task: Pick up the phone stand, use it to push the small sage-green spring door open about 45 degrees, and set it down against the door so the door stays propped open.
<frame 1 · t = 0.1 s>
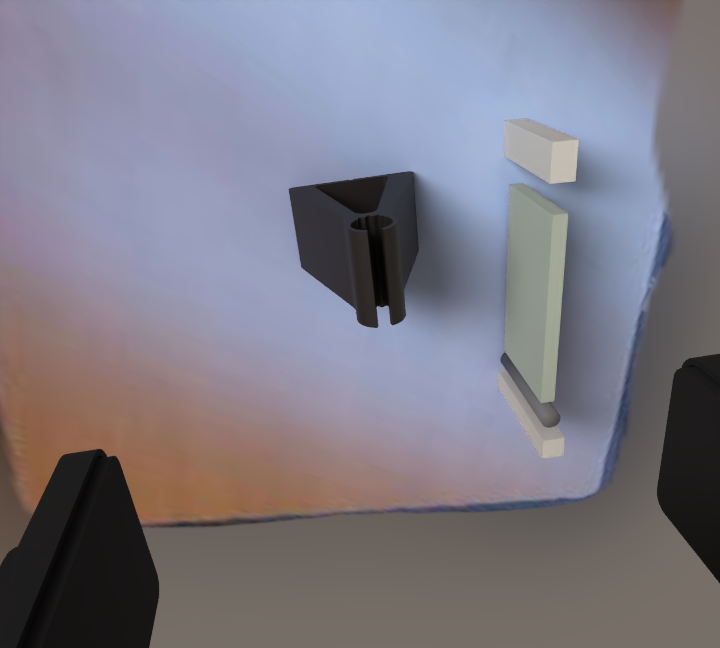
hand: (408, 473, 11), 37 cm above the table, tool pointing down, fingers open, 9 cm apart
door frame: (507, 357, 54), on the table
door: (532, 303, 46), point 5 cm above the table, hinge at 0.0°
phone stand: (355, 218, 47), on the table
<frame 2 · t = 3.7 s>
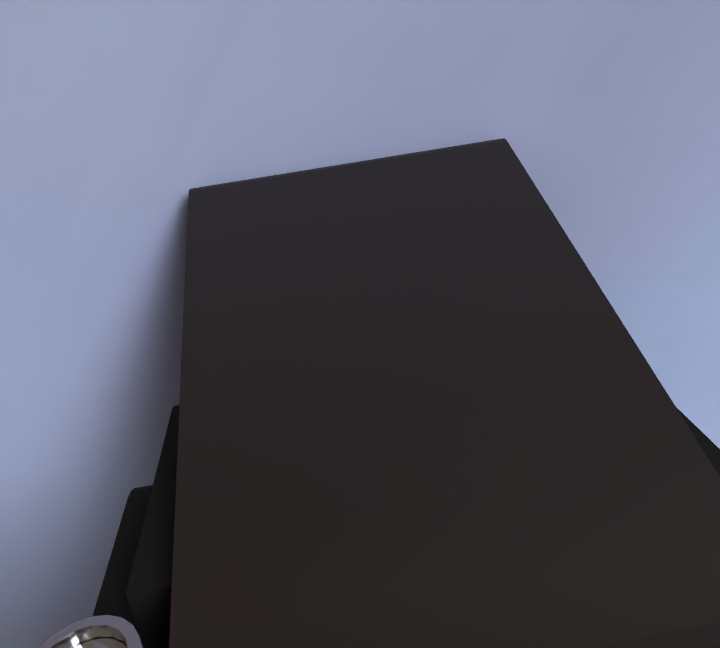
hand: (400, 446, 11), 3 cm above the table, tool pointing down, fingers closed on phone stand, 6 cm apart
phone stand: (373, 356, 14), on the table, touching gripper
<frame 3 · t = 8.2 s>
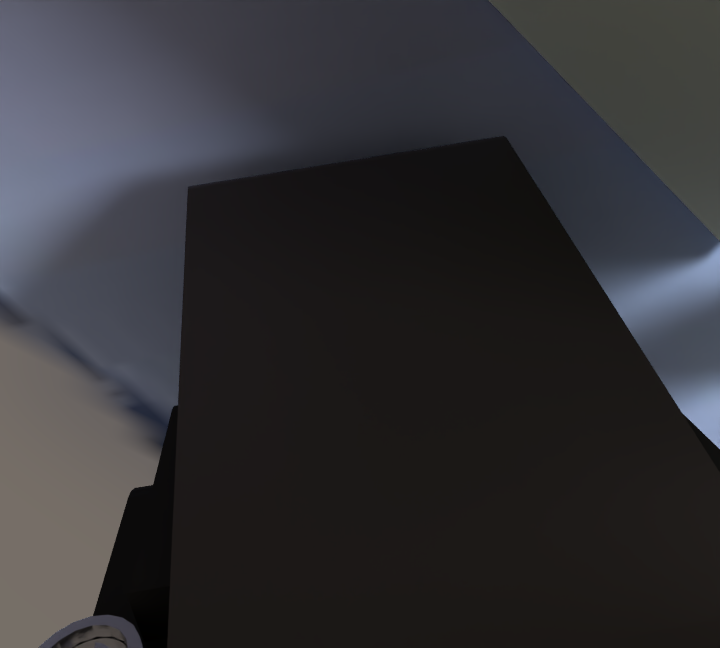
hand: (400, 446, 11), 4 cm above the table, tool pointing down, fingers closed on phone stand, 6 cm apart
door: (661, 4, 8), point 5 cm above the table, hinge at 0.0°
phone stand: (373, 355, 14), point 1 cm above the table, touching gripper
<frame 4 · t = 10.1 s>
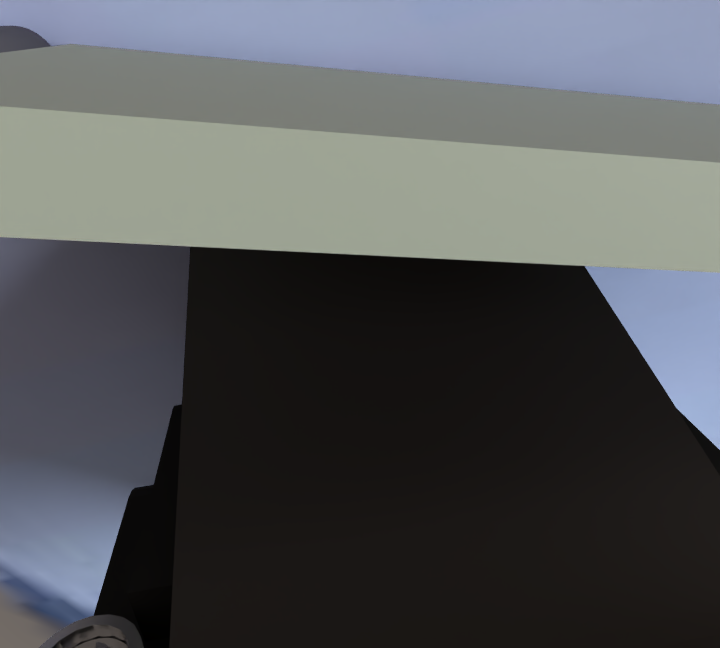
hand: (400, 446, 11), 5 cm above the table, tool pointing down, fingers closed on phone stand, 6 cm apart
door: (451, 137, 9), point 5 cm above the table, hinge at 34.6°, touching phone stand
phone stand: (372, 360, 14), point 1 cm above the table, touching door, gripper
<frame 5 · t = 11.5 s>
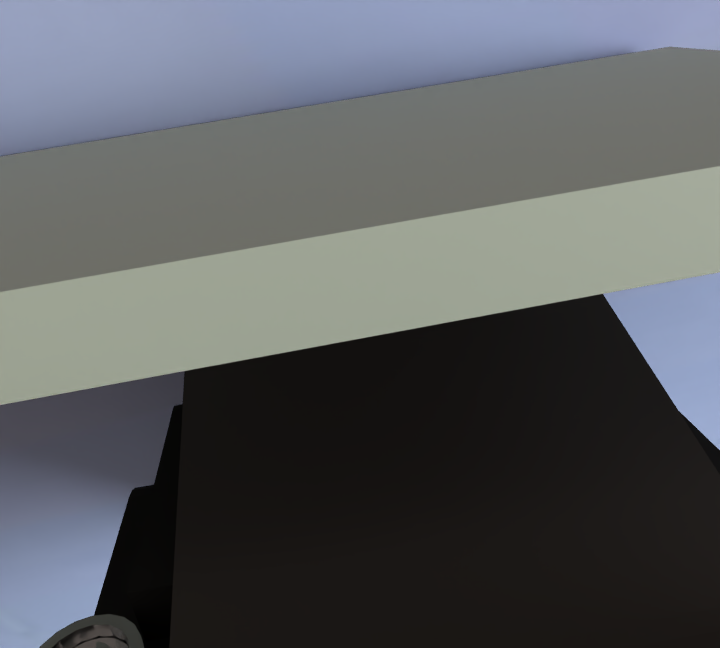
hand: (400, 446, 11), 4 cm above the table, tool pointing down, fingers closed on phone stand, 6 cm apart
door: (297, 187, 9), point 5 cm above the table, hinge at 47.5°, touching phone stand
phone stand: (373, 360, 14), point 1 cm above the table, touching door, gripper
when the fingers open (4 cm above the table, at t = 12.8 s): phone stand drops 1 cm, on the table.
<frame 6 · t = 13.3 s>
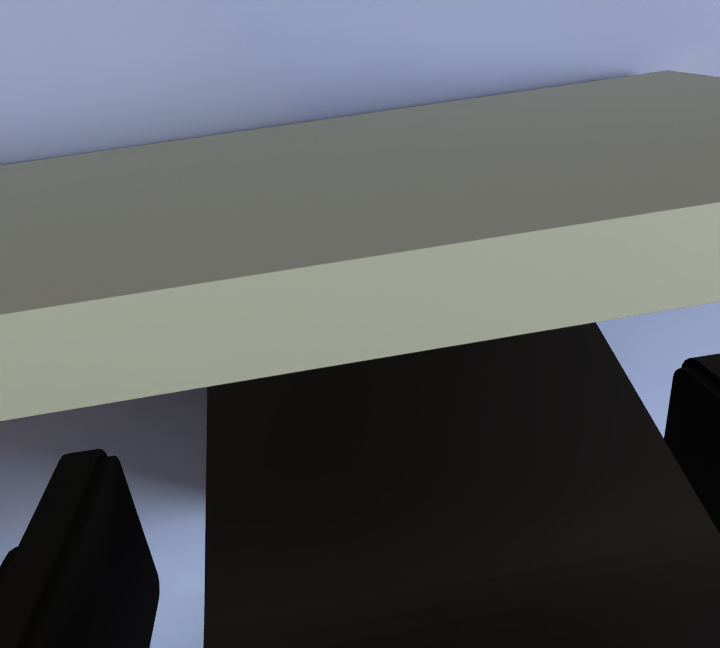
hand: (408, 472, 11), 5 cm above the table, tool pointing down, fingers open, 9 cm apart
door: (303, 205, 9), point 5 cm above the table, hinge at 46.2°
phone stand: (371, 339, 16), on the table
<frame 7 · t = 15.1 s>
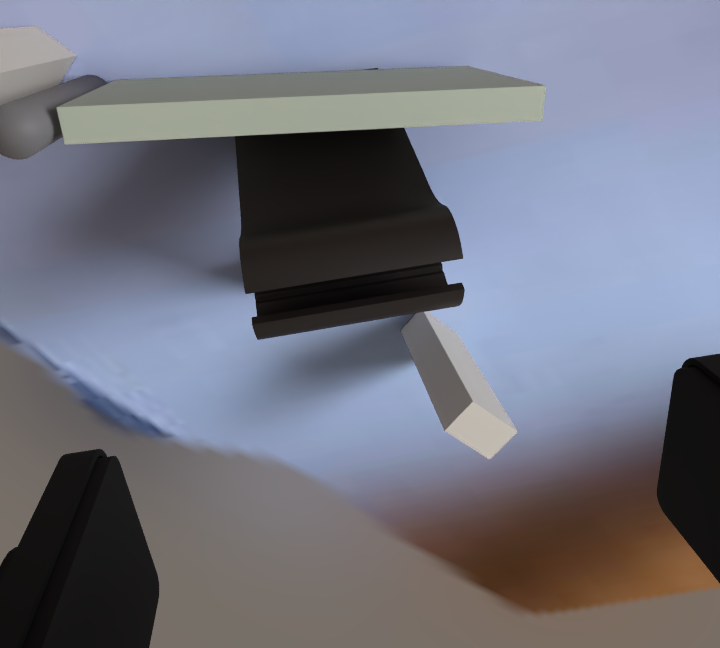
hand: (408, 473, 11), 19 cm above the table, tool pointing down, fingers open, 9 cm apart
door frame: (94, 93, 25), on the table
door: (279, 99, 21), point 5 cm above the table, hinge at 40.9°
phone stand: (320, 183, 28), on the table
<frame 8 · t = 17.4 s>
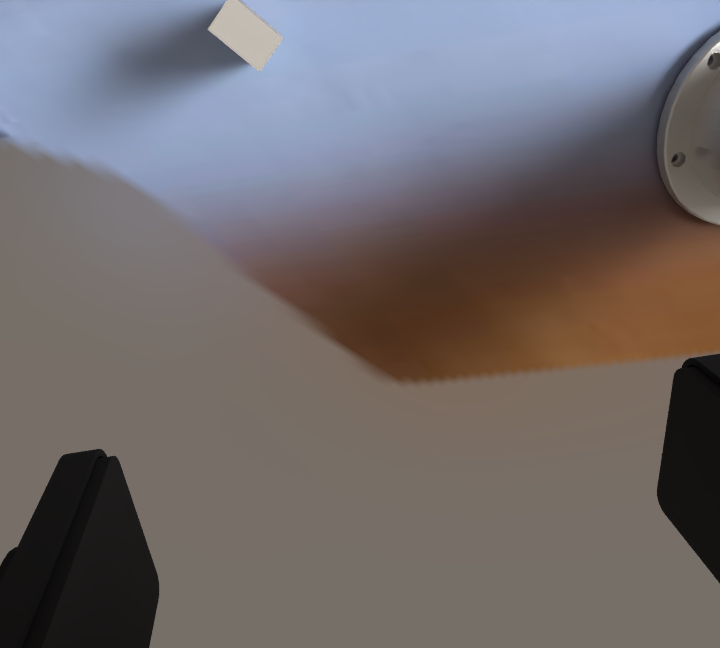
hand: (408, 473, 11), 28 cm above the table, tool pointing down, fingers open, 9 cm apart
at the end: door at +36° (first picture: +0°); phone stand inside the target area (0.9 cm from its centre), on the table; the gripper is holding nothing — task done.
